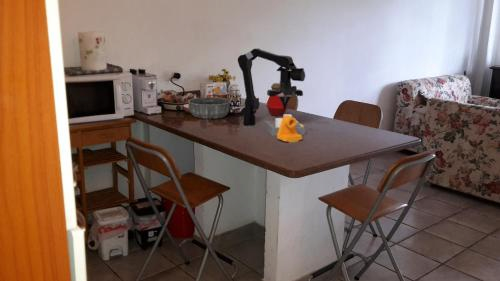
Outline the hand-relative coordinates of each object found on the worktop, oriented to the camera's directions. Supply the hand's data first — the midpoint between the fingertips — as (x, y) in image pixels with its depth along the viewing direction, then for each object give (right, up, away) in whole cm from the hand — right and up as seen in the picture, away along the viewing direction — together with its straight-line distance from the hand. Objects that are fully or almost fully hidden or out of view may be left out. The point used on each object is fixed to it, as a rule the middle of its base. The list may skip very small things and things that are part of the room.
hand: (284, 108), depth 251 cm
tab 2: (+2, -9, +3) cm, 10 cm away
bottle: (-2, -2, +41) cm, 41 cm away
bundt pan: (-44, -3, +32) cm, 55 cm away
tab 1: (-3, -12, -8) cm, 15 cm away
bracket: (+1, -18, -20) cm, 27 cm away
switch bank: (0, -12, -2) cm, 13 cm away
